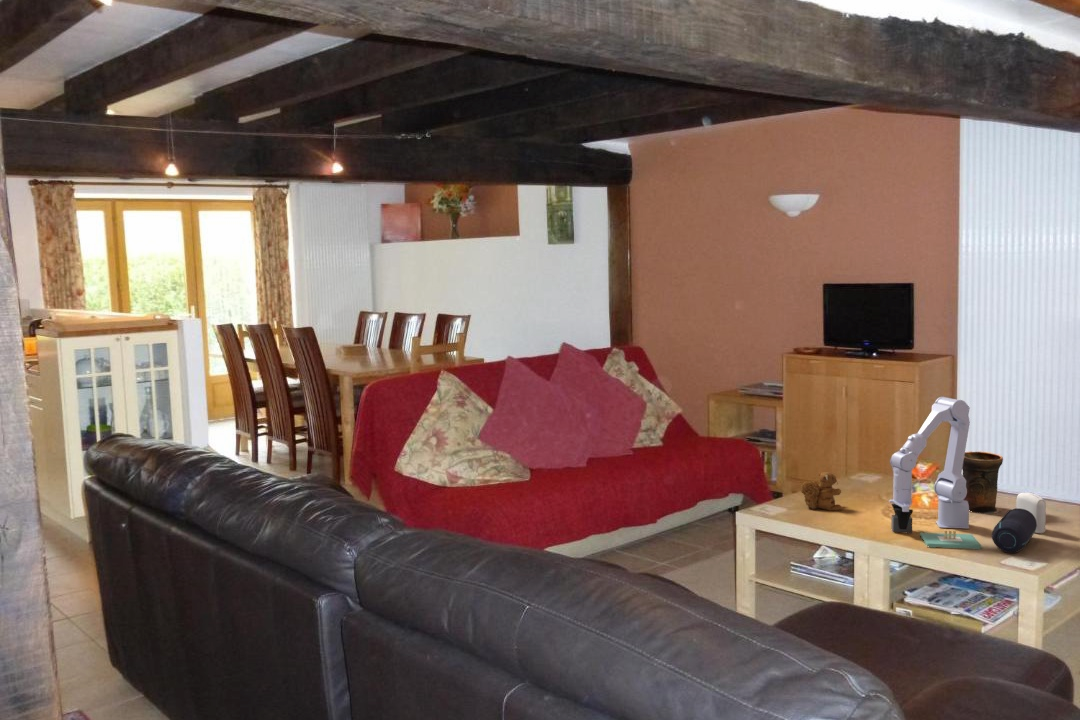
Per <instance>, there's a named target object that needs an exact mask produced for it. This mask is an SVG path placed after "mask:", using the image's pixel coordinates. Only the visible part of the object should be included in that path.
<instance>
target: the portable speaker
mask: <svg viewBox="0 0 1080 720" xmlns="http://www.w3.org/2000/svg"><path fill="white" fill-rule="evenodd" d="M1036 527H1037V523H1036V519H1035V517H1034V515H1033V514H1032V513H1031V512H1029V511H1027V510H1025V509H1018V508H1016V507H1015V508H1013V509H1010V510H1008V511H1007V512H1006V513H1005V514H1004V515H1003V516H1002V518H1000V520H999V521H998V522H997V523H996V525H995V526H994V527H993V530H992V531H991V537H992V538H991V539H992V542H993V544H994V545H995V546H996V548H998V549H999V550H1000V551H1002V552H1005V553H1008V554H1014V553H1018V552H1020V551H1022V550H1023V549H1024V548H1025V547H1026V546H1027V545H1028V543H1029V542H1030V540H1031V539H1032V537H1034V535H1035V530H1036Z"/></svg>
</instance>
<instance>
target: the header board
mask: <svg viewBox="0 0 1080 720" xmlns="http://www.w3.org/2000/svg"><path fill="white" fill-rule="evenodd" d="M956 532H957V531H955V530H954V531H953V533H952V530H949V531H947V530H945V531H944V532H943V533H942V532H938V533H937V532H919V536H921V537H920V538H921V540H922V539H923V540H924V541H923V540H922V541H923V543H924V542H925V543H924V544H925V546H926V545H927V546H929V547H928V548H936V547H942V548H943V549H962V550H963V549H968V550H970V549H971V550H982V544H981V543H980V542H979V541H978V540H977V538H976V537H975V536H974V535H973V534H971V533H956ZM927 546H926V547H927Z"/></svg>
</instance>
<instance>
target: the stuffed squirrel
mask: <svg viewBox="0 0 1080 720" xmlns="http://www.w3.org/2000/svg"><path fill="white" fill-rule="evenodd" d="M818 476H819V484H818V483H817V482H816V481H814V480H809V481H804V482H803V484H800V487H801V488H800V491H801V493H802V495H804V502H805V505H806V506H807V507H808V508H810V509H812V510H817V509H821V510H827V511H842V510H843V506H842V505H841V504H838V503H837V504H836V500H835V497H834V496H840V495H841V493H842V490H841V489H840V488H834V487H833V486H834V485H835V484H837V485H839V482H838V479H837V477H836V475H834V473H832V472H829V471H824V472H820V471H819V472H818Z"/></svg>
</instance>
